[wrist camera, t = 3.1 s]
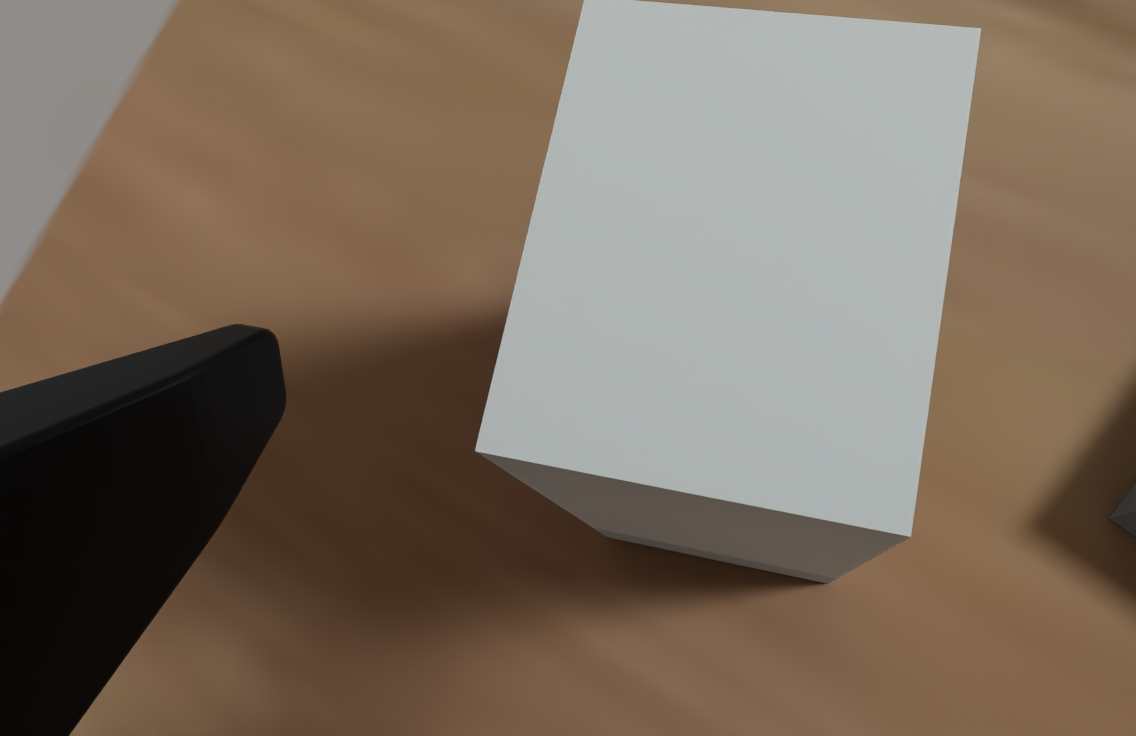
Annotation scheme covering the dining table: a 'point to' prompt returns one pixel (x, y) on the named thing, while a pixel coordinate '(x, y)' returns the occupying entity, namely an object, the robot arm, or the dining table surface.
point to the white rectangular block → (737, 282)
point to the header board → (1126, 512)
